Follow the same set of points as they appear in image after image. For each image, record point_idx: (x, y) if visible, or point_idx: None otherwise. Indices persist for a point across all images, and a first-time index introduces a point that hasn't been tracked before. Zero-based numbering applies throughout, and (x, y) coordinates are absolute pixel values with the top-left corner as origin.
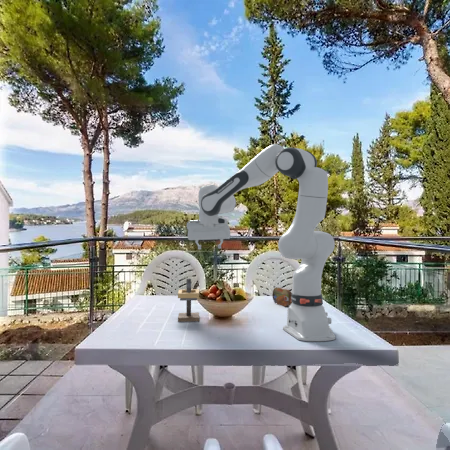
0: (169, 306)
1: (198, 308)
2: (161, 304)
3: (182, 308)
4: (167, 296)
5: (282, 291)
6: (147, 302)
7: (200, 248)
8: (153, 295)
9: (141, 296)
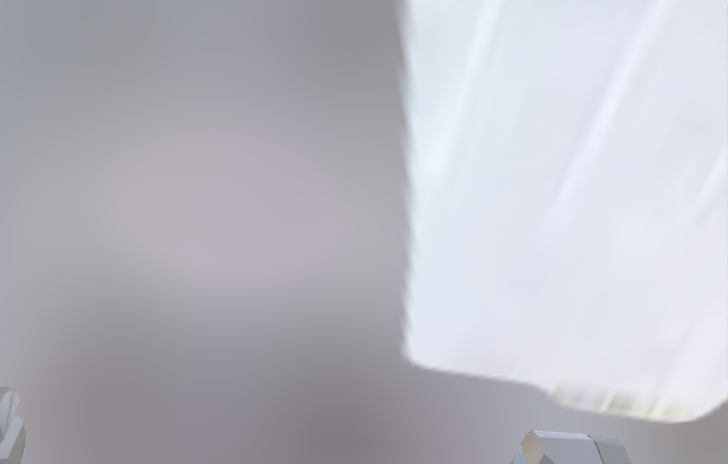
0: (625, 137)
1: (421, 26)
2: (657, 202)
3: (550, 55)
4: (541, 371)
5: None
6: (723, 267)
7: (556, 444)
8: (613, 401)
9: (690, 394)
